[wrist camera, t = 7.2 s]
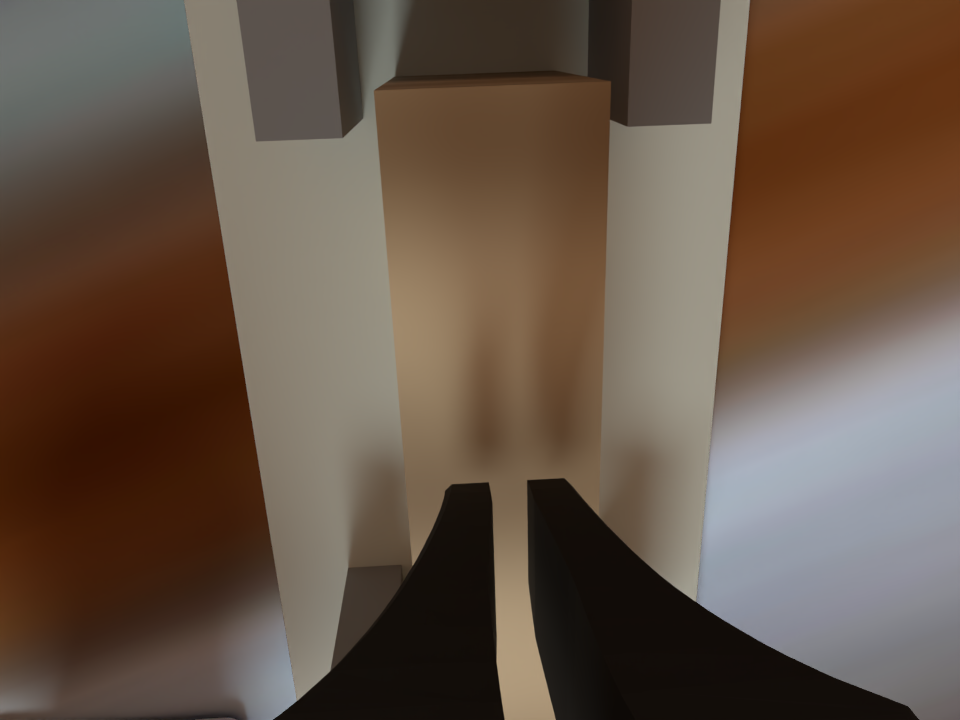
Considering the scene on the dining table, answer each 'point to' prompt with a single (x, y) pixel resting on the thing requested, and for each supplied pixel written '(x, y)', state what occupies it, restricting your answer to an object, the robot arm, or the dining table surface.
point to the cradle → (365, 278)
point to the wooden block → (497, 308)
